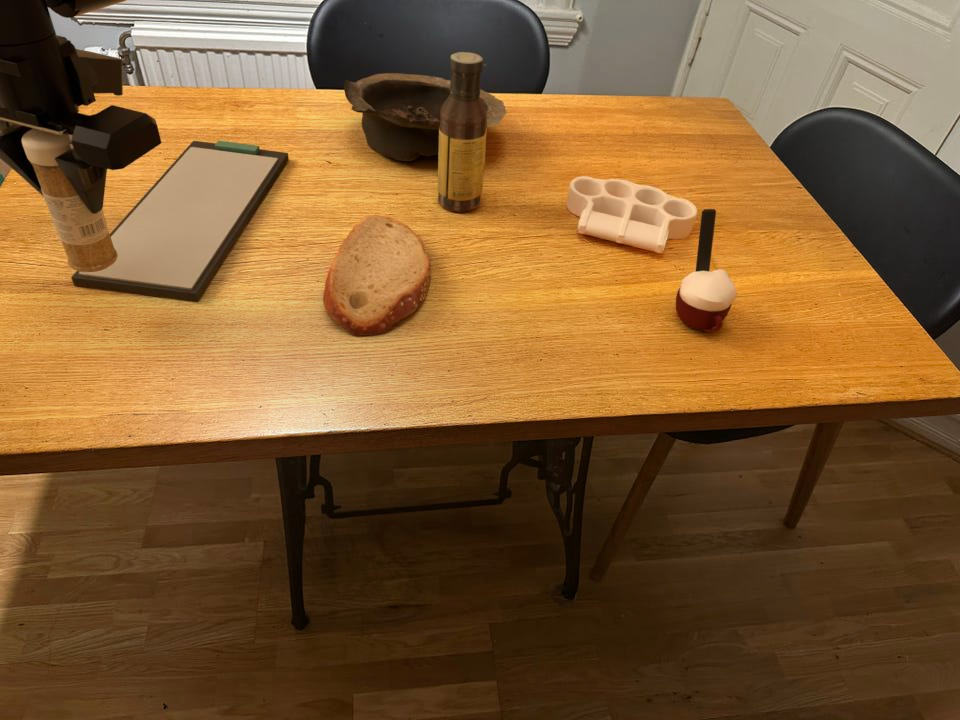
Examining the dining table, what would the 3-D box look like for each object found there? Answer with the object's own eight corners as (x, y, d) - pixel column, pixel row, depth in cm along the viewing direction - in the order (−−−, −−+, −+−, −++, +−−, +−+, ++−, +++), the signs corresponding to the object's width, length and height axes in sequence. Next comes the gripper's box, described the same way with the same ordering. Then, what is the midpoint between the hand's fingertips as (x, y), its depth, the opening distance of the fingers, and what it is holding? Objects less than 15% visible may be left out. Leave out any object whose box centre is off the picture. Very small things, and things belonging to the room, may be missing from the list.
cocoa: (722, 349, 80) (761, 262, 71) (668, 337, 80) (699, 250, 72) (721, 300, 86) (756, 216, 78) (670, 289, 87) (700, 205, 79)
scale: (198, 302, 77) (194, 287, 76) (73, 285, 77) (68, 271, 76) (289, 160, 102) (287, 147, 101) (194, 148, 102) (192, 135, 101)
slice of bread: (385, 220, 93) (385, 195, 90) (478, 285, 84) (481, 260, 82) (266, 268, 83) (262, 241, 80) (358, 347, 74) (357, 321, 72)
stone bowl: (345, 177, 99) (341, 112, 93) (347, 115, 118) (345, 57, 113) (515, 178, 103) (522, 116, 97) (491, 117, 122) (495, 62, 116)
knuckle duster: (552, 233, 94) (574, 184, 105) (684, 266, 91) (694, 213, 102) (556, 211, 92) (578, 164, 102) (692, 245, 89) (701, 192, 99)
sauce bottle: (489, 202, 99) (505, 59, 85) (462, 219, 95) (475, 71, 81) (453, 186, 101) (464, 44, 87) (426, 202, 97) (432, 55, 84)
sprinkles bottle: (110, 243, 72) (70, 118, 63) (125, 265, 70) (85, 139, 61) (62, 256, 70) (13, 129, 61) (76, 280, 67) (27, 150, 58)
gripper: (180, 25, 59) (212, 188, 70) (-4, -15, 62) (54, 147, 73) (88, 70, 51) (140, 246, 62) (-117, 21, 54) (-33, 198, 65)
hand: (76, 205), depth 66 cm, fingers closed on sprinkles bottle, 4 cm apart
